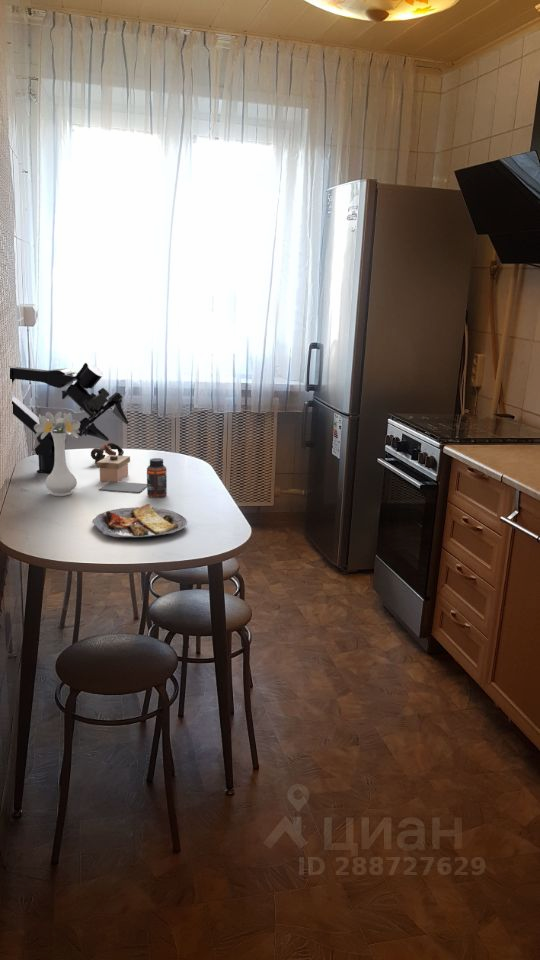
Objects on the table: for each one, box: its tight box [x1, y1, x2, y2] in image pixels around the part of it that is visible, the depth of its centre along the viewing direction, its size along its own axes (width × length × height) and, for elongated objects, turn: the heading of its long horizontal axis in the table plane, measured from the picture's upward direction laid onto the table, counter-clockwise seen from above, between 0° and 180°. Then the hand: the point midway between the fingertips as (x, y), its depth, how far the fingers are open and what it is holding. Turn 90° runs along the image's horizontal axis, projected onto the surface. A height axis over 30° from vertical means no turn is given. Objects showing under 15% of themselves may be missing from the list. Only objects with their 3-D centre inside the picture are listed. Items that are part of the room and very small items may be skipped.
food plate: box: [91, 503, 188, 539], centre depth 203 cm, size 25×23×4 cm
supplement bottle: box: [146, 457, 168, 498], centre depth 233 cm, size 6×6×11 cm
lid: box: [96, 454, 131, 469], centre depth 252 cm, size 7×11×3 cm, turn 171°
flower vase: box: [34, 411, 80, 497], centre depth 230 cm, size 13×18×25 cm
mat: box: [98, 481, 147, 494], centre depth 242 cm, size 13×10×1 cm
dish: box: [99, 463, 129, 483], centre depth 253 cm, size 6×10×4 cm, turn 171°
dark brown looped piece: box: [90, 442, 125, 464], centre depth 272 cm, size 12×10×8 cm
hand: (118, 431), depth 251 cm, fingers open, 9 cm apart
